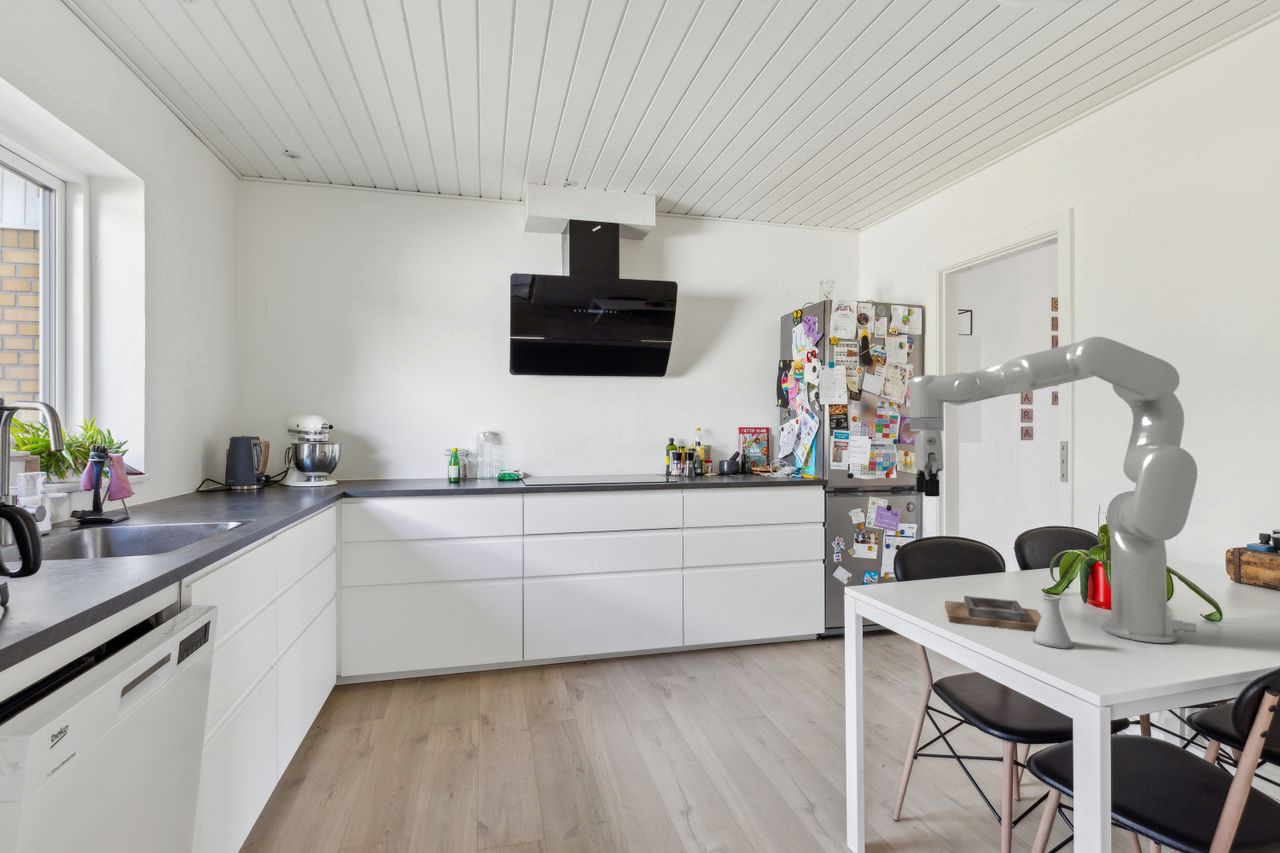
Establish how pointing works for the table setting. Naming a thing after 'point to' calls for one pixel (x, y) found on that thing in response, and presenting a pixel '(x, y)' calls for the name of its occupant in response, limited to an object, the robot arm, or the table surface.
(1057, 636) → the flask
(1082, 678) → the table surface
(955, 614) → the walnut board
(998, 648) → the table surface
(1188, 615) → the table surface
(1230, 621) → the table surface
